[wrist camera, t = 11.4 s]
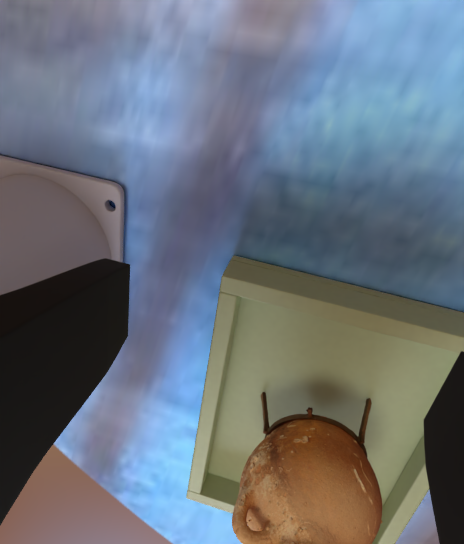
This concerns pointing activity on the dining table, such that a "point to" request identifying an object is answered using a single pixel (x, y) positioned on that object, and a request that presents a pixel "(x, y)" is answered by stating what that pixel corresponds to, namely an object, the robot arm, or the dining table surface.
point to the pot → (308, 484)
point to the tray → (321, 377)
